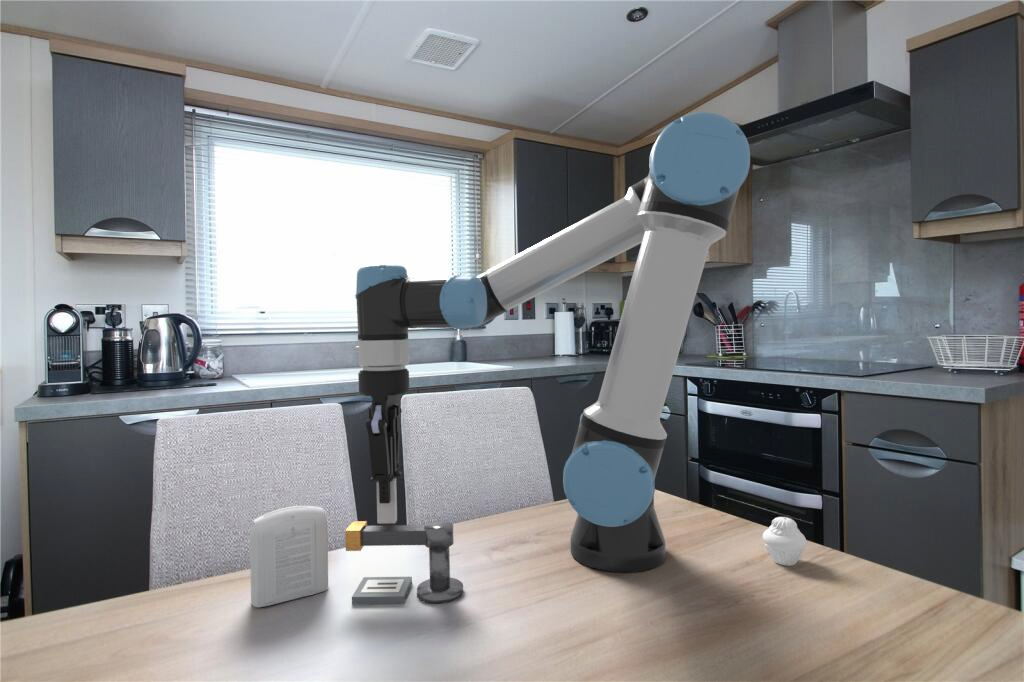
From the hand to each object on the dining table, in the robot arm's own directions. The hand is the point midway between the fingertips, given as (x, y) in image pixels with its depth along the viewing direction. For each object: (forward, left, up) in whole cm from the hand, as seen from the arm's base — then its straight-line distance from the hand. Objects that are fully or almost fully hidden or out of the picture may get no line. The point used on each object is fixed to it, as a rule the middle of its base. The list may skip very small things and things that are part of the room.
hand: (387, 521), depth 88 cm
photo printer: (+12, +8, -8) cm, 16 cm away
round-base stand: (-9, +8, -7) cm, 14 cm away
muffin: (-61, -1, -8) cm, 61 cm away
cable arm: (-4, +8, -1) cm, 9 cm away
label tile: (-1, +8, -7) cm, 11 cm away
